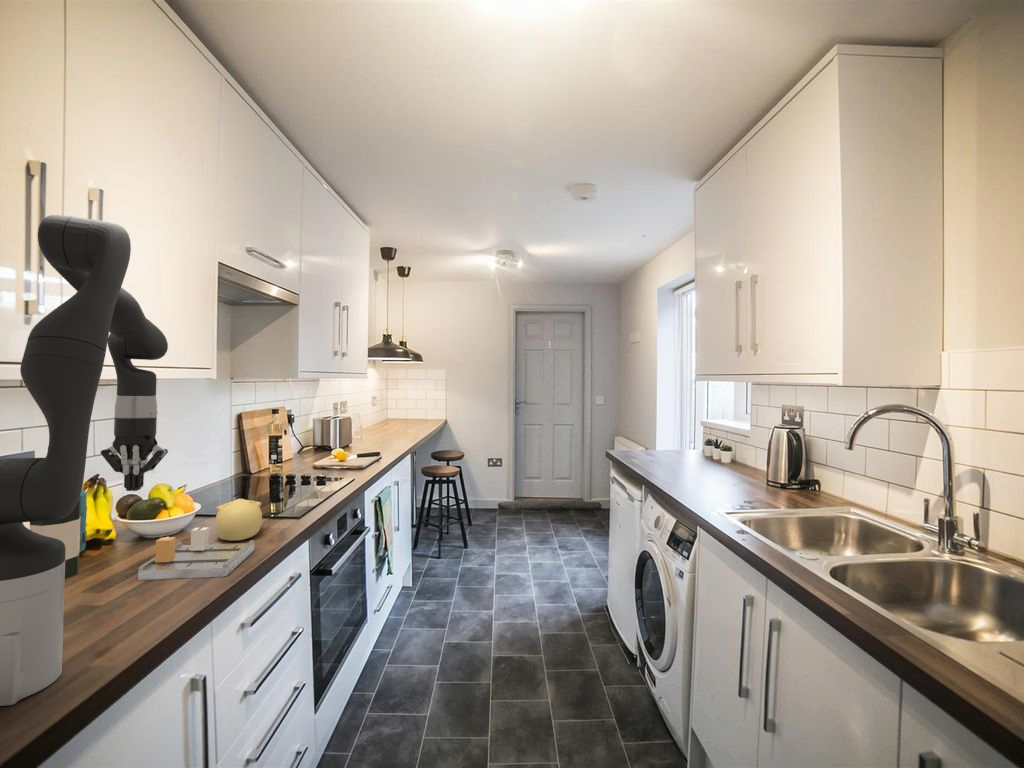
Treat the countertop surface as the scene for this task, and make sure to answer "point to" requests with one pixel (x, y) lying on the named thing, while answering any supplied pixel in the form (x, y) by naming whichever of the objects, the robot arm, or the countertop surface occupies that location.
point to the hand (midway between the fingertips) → (133, 490)
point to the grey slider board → (198, 562)
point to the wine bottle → (64, 536)
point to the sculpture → (238, 519)
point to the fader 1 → (165, 549)
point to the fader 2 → (199, 538)
